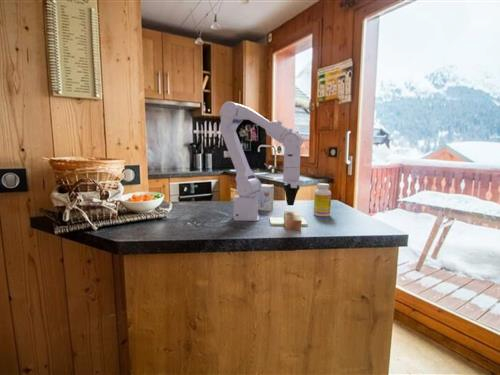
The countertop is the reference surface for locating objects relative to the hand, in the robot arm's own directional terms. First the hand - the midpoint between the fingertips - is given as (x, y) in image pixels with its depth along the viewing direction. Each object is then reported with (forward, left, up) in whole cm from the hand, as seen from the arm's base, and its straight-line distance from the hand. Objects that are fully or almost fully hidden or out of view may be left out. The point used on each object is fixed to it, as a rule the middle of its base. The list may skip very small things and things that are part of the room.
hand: (290, 205), depth 106 cm
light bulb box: (-10, +24, -7) cm, 27 cm away
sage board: (-1, +1, -7) cm, 7 cm away
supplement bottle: (+15, +14, -7) cm, 22 cm away
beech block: (0, -1, -4) cm, 4 cm away
